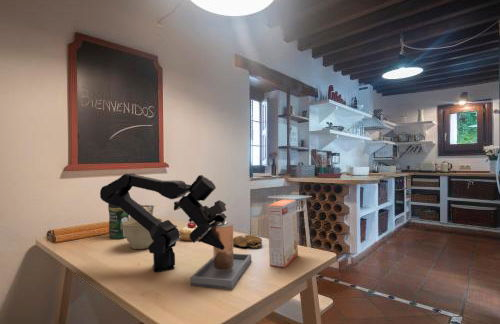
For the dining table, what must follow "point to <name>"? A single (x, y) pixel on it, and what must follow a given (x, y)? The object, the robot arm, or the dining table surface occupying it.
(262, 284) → the dining table surface
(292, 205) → the cracker box
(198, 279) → the gray tray
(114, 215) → the coffee jar
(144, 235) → the planter bowl
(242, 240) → the decorative rock
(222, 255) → the copper cylinder
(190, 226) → the pastry
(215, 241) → the robot arm
